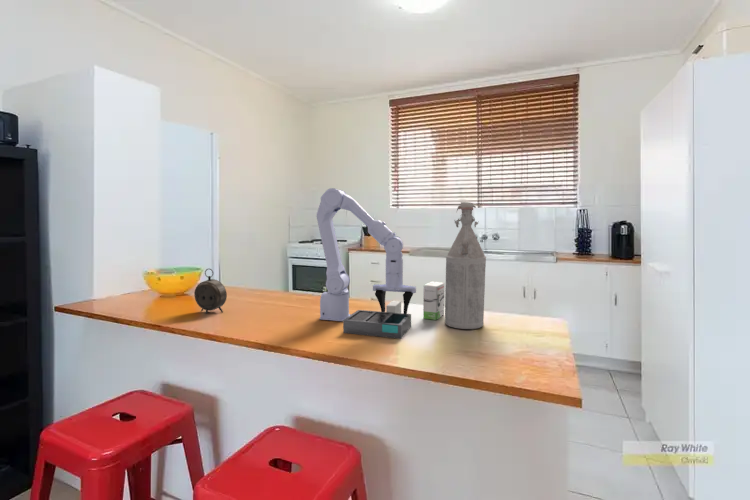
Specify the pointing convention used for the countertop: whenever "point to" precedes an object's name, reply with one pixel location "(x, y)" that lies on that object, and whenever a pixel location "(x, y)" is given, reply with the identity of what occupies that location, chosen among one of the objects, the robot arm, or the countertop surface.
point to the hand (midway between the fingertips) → (394, 312)
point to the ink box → (433, 300)
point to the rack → (377, 324)
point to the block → (394, 307)
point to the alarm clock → (210, 294)
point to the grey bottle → (465, 276)
